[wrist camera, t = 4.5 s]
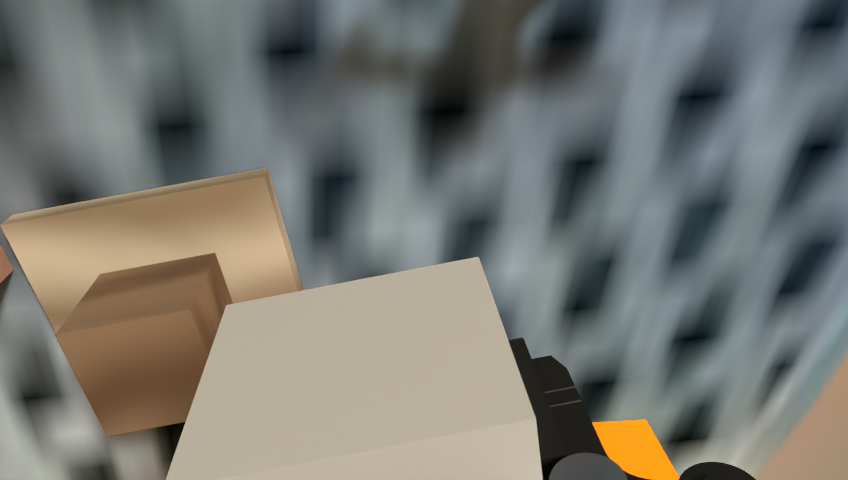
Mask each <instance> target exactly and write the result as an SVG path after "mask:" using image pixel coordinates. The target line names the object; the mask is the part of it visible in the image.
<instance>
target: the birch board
mask: <svg viewBox="0 0 848 480" xmlns="http://www.w3.org/2000/svg"><path fill="white" fill-rule="evenodd" d="M0 226H1V228H2V230H3V232H4V234H5V236H6V238H7V240H8V241H9V243H10V245H11V247H12V249H13V251H14V253H15V255H16V257H17V259H18V261H19V263H20V265H21V267H22V269H23V271H24V272H25V274H26V276H27V278H28V280H29V282H30V284H31V286H32V288H33V290H34V292H35V294H36V296H37V298H38V300H39V302H40V303H41V305H42V307H43V309H44V311H45V313H46V315H47V317H48V319H49V321H50V323H51V325H52V327H53V329H54V331H55V333H57V331H58V330H59V329H60V327H61V326H62V325H63V323H64V322H65V321H66V319H67V318H68V316H69V315H70V314H71V312H72V311H73V310H74V308H75V307H76V306H77V304H78V303H79V302H80V300H81V299H82V298H83V296H84V295H85V294H86V292H87V291H88V290H89V288H90V287H91V286H92V284H93V283H94V282H95V280H96V279H97V277H98V276H99V275H100V274H103V273H108V272H114V271H119V270H124V269H130V268H135V267H141V266H146V265H151V264H157V263H162V262H167V261H173V260H178V259H184V258H189V257H194V256H200V255H205V254H211V253H215V254H216V256H217V259H218V262H219V265H220V268H221V270H222V273H223V276H224V279H225V282H226V285H227V287H228V290H229V293H230V296H231V299H232V302H233V304H235V303H240V302H245V301H250V300H255V299H261V298H266V297H271V296H276V295H282V294H287V293H292V292H297V291H302V290H303V287H302V284H301V280H300V277H299V273H298V270H297V266H296V263H295V259H294V256H293V253H292V249H291V246H290V242H289V239H288V235H287V232H286V228H285V225H284V222H283V218H282V215H281V211H280V208H279V204H278V201H277V197H276V194H275V191H274V187H273V184H272V180H271V177H270V173H269V170H268V167H267V168H262V169H256V170H251V171H245V172H240V173H234V174H229V175H224V176H218V177H213V178H207V179H202V180H197V181H191V182H186V183H180V184H175V185H170V186H164V187H159V188H153V189H148V190H143V191H137V192H132V193H126V194H121V195H116V196H110V197H105V198H99V199H94V200H89V201H83V202H78V203H72V204H67V205H61V206H56V207H51V208H45V209H40V210H34V211H29V212H24V213H18V214H13V215H12V216H11V217H9V218H8V219H7V220H6V221H5V222H4V223H2V224H1V225H0Z"/></svg>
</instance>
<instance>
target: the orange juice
mask: <svg viewBox="0 0 848 480" xmlns="http://www.w3.org/2000/svg"><path fill="white" fill-rule="evenodd" d="M592 424H593V426H594V428H595V430H596V432H597V435H598V437H599V439H600V441H601V443H602V445H603V448H604V450H605V452H606V454H607V455H608V457H609V458H610V459H611V460H613V461H614V462H616V463H617V464H618V465H619V466H620V467H621V468H622V470H624V471H626V472H628V473H629V474H632V475H635V476H637V477H641V478H645V479H652V480H679V476H678V475H677V473H676V471H675V470H674V468H673V466H672V464H671V463H670V461H669V459H668V457H667V456H666V454H665V452H664V450H663V449H662V447H661V445H660V444H659V442H658V440H657V438H656V437H655V435H654V433H653V431H652V430H651V428H650V426H649V424H648V423H647V421H646V420H630V421H612V422H595V423H592Z"/></svg>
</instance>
